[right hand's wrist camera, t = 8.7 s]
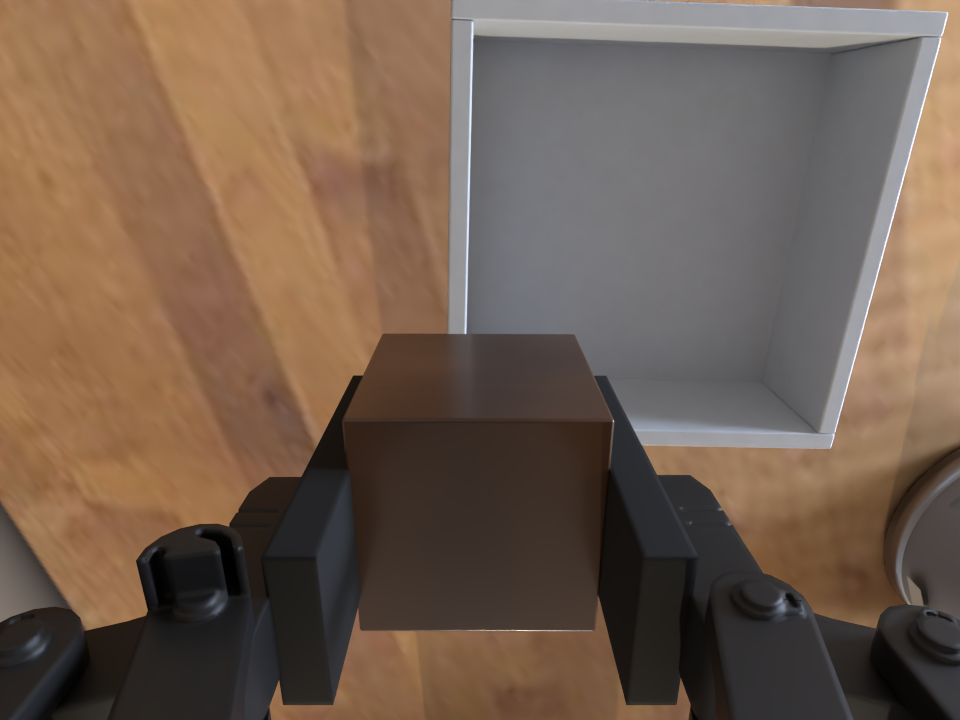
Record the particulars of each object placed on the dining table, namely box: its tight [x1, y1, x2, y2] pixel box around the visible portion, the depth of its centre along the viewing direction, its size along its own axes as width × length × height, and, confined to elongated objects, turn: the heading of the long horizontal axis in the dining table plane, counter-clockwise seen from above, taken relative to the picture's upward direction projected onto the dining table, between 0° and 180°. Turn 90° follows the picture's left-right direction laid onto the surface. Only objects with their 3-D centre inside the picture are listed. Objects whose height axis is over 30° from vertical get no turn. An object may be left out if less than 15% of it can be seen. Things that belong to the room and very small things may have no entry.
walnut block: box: [342, 334, 614, 631], centre depth 13 cm, size 4×4×4 cm
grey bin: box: [447, 0, 948, 449], centre depth 19 cm, size 25×13×5 cm, turn 178°
